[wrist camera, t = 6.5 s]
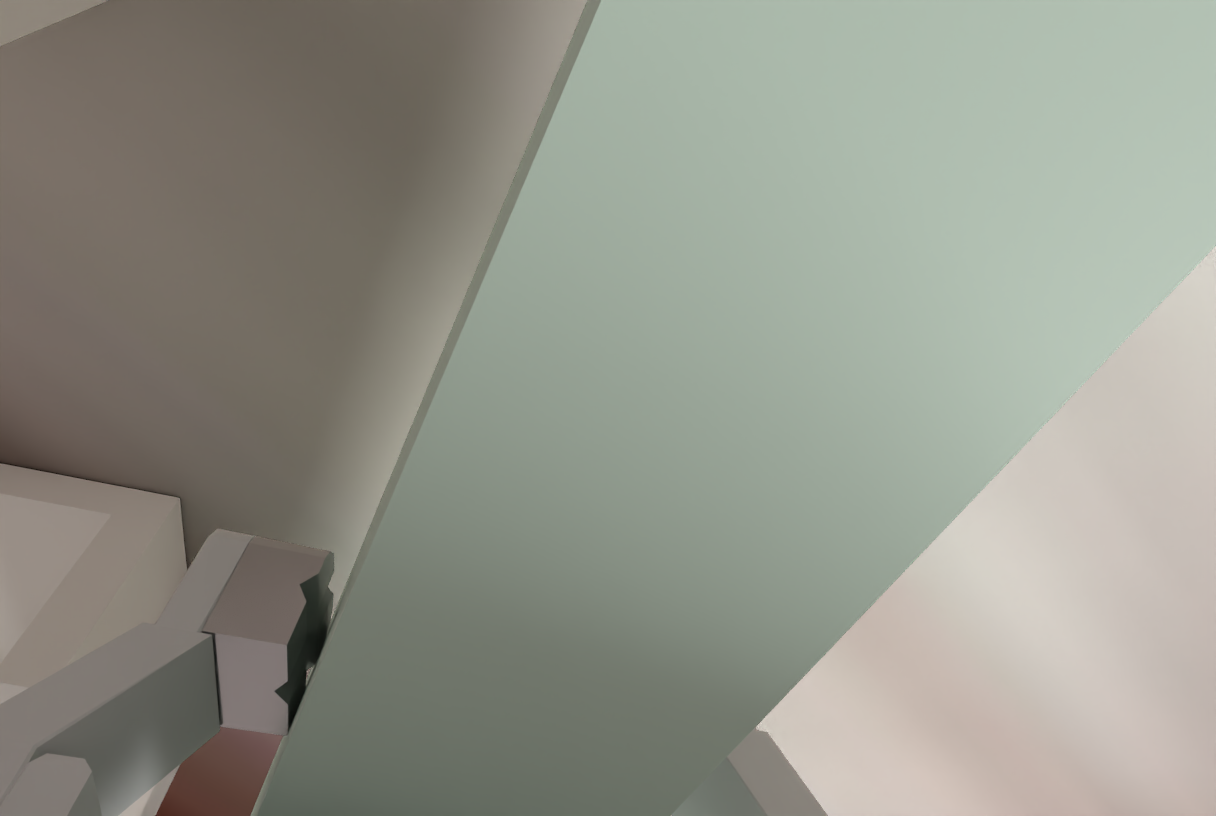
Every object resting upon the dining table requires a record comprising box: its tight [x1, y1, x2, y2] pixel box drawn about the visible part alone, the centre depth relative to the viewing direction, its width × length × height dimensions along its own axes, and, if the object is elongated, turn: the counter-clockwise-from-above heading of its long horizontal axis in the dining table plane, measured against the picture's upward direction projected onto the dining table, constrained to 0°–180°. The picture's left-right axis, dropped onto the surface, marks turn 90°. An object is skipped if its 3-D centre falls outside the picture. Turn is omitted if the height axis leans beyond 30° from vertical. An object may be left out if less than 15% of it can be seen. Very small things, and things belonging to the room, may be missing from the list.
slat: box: [251, 0, 1216, 816], centre depth 11 cm, size 21×4×6 cm, turn 155°
